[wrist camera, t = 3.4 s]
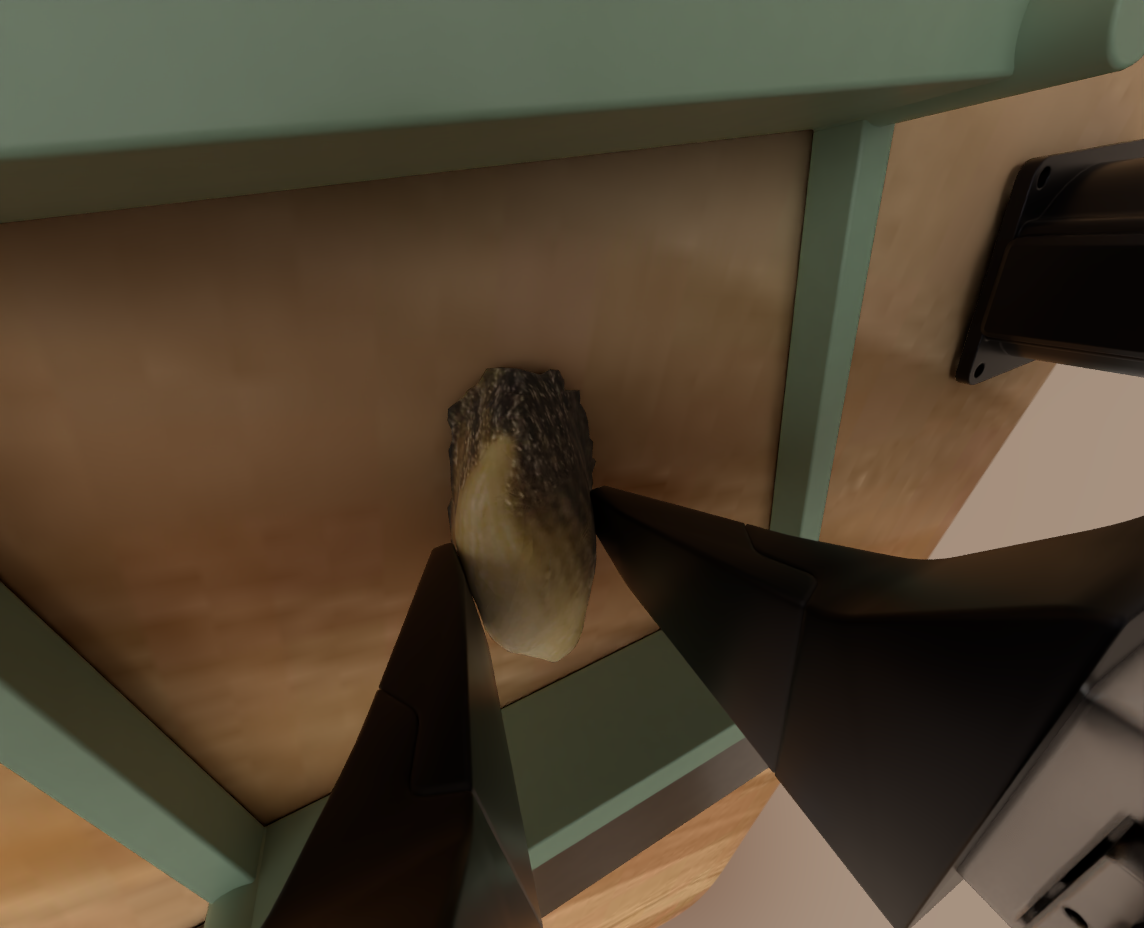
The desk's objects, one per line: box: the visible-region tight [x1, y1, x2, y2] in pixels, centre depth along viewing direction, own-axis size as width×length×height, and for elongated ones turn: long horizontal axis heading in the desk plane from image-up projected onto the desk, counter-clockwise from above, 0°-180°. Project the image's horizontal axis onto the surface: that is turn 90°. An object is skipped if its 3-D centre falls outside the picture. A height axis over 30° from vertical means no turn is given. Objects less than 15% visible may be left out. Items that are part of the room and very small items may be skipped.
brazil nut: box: [448, 368, 596, 662], centre depth 9 cm, size 6×5×3 cm
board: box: [197, 737, 769, 928], centre depth 16 cm, size 22×10×1 cm, turn 99°
